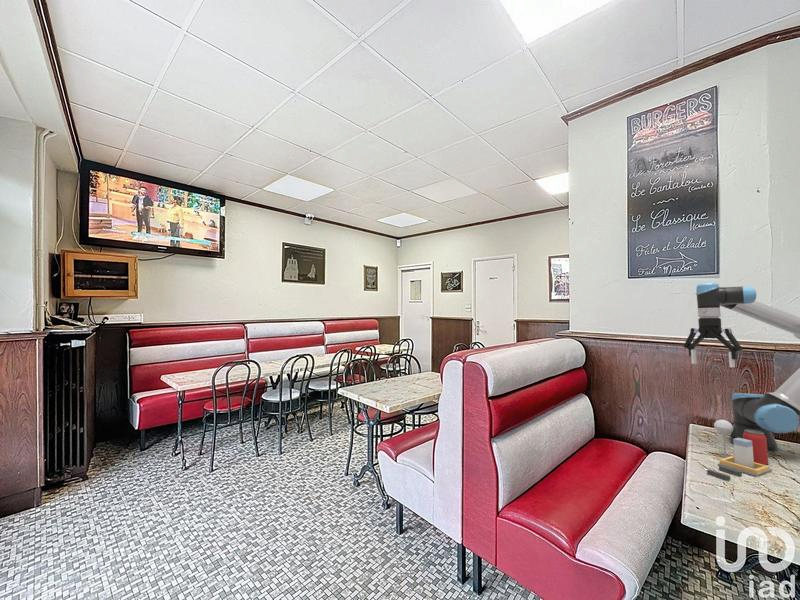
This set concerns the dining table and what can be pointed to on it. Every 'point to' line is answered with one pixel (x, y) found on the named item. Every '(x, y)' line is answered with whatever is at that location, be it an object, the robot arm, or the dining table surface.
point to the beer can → (757, 445)
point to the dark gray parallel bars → (724, 476)
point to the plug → (743, 452)
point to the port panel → (755, 471)
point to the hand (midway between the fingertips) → (712, 365)
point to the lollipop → (723, 429)
